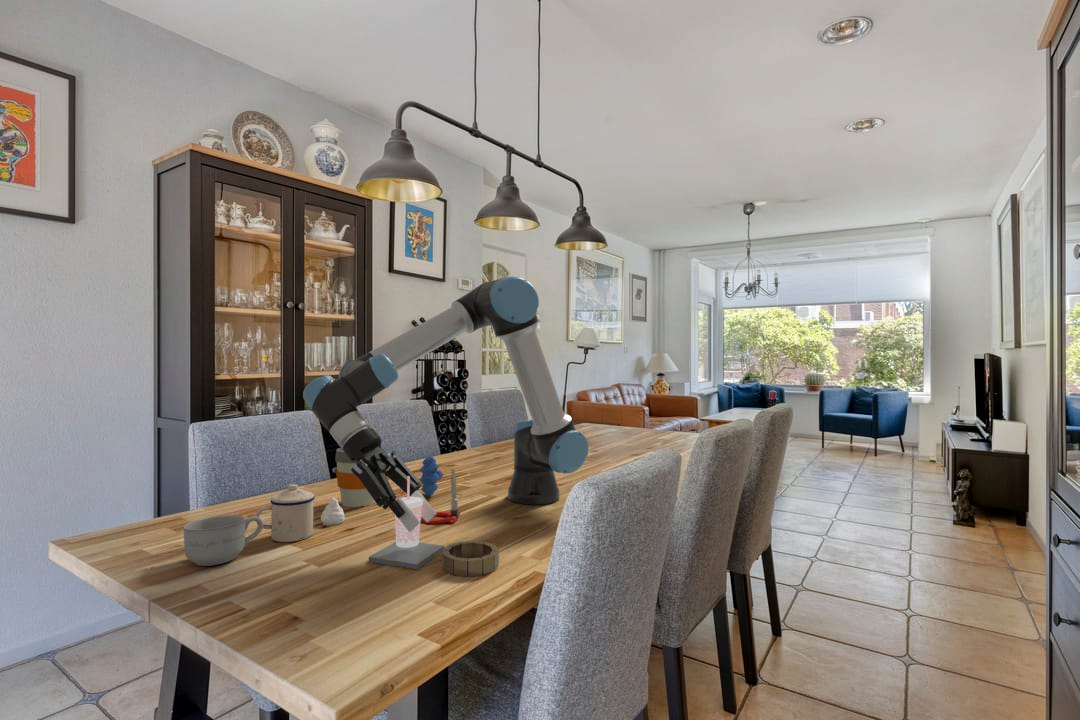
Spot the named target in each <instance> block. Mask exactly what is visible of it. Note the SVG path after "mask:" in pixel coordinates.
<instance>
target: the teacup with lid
mask: <svg viewBox="0 0 1080 720" xmlns="http://www.w3.org/2000/svg"><path fill="white" fill-rule="evenodd" d="M314 500H315V495H314V493H312V492H311V491H306V490H304V489H302V488H299V486H298V484H294V483H293V484H288V486H287V489H285V490H283V491H281V492H280V493H277V494H275V495H273V496H271V498H270V504H271V505H267V506H262V507H260V508H259V509H258V510H257V511H256V513H255V516H257V517H259V518H260V515H261V513H262V512H265V511H270V510H271V521H270V522H271V523H270V524H264V523H263V528H262V529H264V530H271V531H270V532H271V533H270V534H271V536H270V537H271V539H272V540H273V541H275V542H279V543H294V541H295V542H299V541H303V539H304V540H306V539H309V538H310V537H311V536H313V534H314ZM256 524H257V525H258V523H257V522H256Z"/></svg>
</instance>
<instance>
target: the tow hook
mask: <svg viewBox="0 0 1080 720" xmlns="http://www.w3.org/2000/svg"><path fill="white" fill-rule="evenodd" d="M455 470H456V469H455V468H451V477H450V482H451V484H450V486H451V487H450V488H451V500H450V507H451V508H450V511H443V510H442V511H435V512H436V513H437V514H436V515H435V516H434V517H440V516H441V517H442V518H432V519H431V520H430V521H429V522H426V521H425V519H424V518H423V517H422V516H421V521H420V522H422V523H424V524H428V525H429V524H430V525H431V524H432V525H435V524H445V523H450V524H454V523H455V522H456V521H457V520H458V518H459V516H460V515H461V512H460V511H459V508H458V498H457V477H456V471H455ZM443 517H444V518H443Z"/></svg>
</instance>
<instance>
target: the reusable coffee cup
mask: <svg viewBox="0 0 1080 720" xmlns="http://www.w3.org/2000/svg"><path fill="white" fill-rule="evenodd" d="M334 457H335V458H334V460H335V462H336V467H337V468H336V470H335V471H336V481H337V487H338V488H339V492H340V499H341V500H340V502H341V505H342V506H343V507H346V506H347V507H346V508H362V507H361V506H364V507H368V506H367V505H369V506H372V505H374V504H375V503H376V502H375V501H374V499H373V498H372V496H371V495H370V493H369V492H368V491H367V489H366V488H365V486H364V485H363V483H362V482H361V481H360V479H359V478H358V477H357V476H356V475H355V474H354V473H353V472H352V471H351V469H352V468H353V466H354V465H355V464H356V463H357V462H352V461H351V460H350V459H349V458H348V456H347V455H346V454H345V453H344V451H343V447H339V448H337V449H336V452H335V456H334ZM373 503H374V504H373ZM371 504H372V505H371Z"/></svg>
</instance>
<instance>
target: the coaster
mask: <svg viewBox="0 0 1080 720" xmlns="http://www.w3.org/2000/svg"><path fill="white" fill-rule="evenodd" d="M444 548H445V545H442V544H441V545H440V544H433V543H425V542H420V541H419V544H418V545H417V546H414V547H409V548H402V547H398V546H397V545H396V541H395V542H393V543H391V544H388V545H386V546H385V547H383V548H382V549H380V550H378V551H377V552H374V553H372V554H371V555H369V556H368V563H372V562H374V563H373V564H380V565H386V566H391V567H398V566H399V568H404V567H406V568H405V569H411V568H412V569H413V570H418V569H419V568H421V567H423V566H424V565H425V564H427V563H428V562H430V561H432V559H434V558H436V557H437V556H438V555H440V554H442V550H443V549H444Z"/></svg>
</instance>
